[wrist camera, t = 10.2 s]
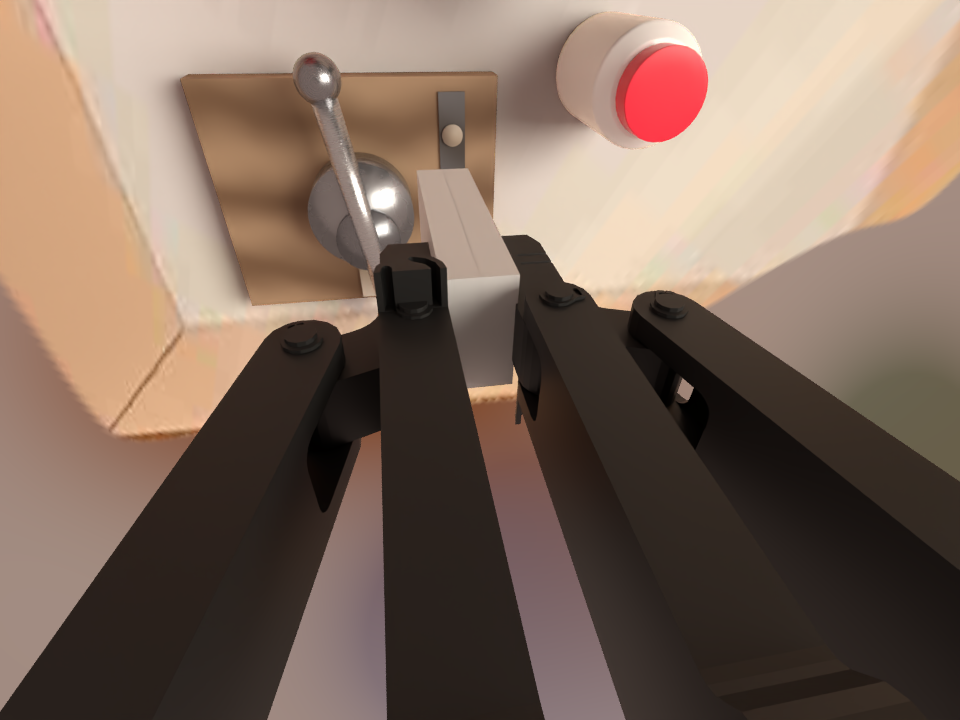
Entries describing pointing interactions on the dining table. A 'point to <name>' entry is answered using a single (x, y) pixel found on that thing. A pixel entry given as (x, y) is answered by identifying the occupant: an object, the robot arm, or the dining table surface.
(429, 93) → the board
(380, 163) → the metal ball lever
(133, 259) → the dining table surface
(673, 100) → the pill bottle
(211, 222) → the dining table surface
